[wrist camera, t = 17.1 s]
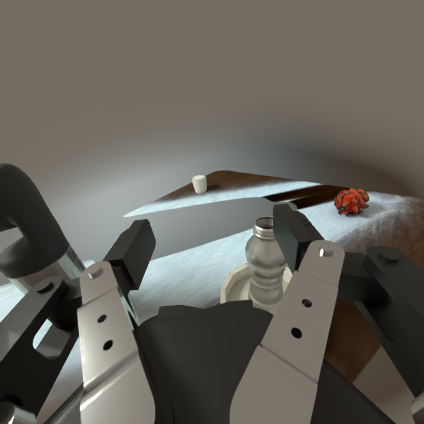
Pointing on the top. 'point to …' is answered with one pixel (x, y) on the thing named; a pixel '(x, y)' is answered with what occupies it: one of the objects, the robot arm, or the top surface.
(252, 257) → the plastic bottle
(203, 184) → the white cup
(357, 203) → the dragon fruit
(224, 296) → the bowl
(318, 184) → the top surface
